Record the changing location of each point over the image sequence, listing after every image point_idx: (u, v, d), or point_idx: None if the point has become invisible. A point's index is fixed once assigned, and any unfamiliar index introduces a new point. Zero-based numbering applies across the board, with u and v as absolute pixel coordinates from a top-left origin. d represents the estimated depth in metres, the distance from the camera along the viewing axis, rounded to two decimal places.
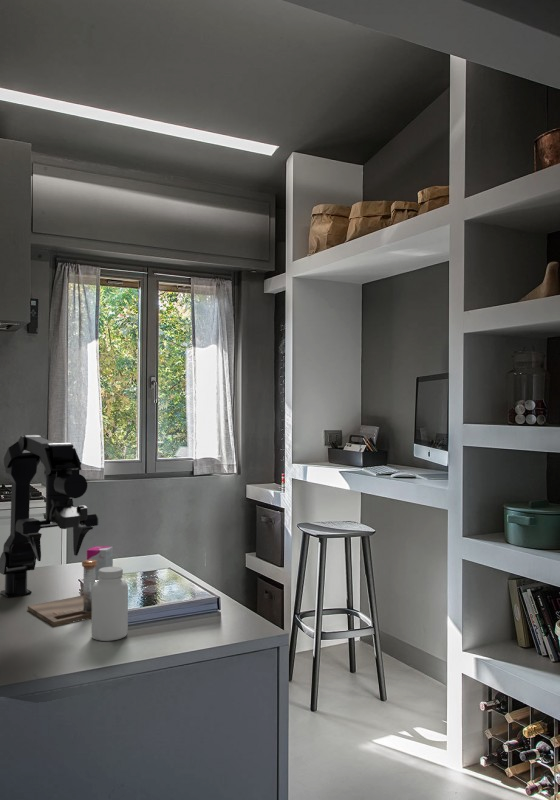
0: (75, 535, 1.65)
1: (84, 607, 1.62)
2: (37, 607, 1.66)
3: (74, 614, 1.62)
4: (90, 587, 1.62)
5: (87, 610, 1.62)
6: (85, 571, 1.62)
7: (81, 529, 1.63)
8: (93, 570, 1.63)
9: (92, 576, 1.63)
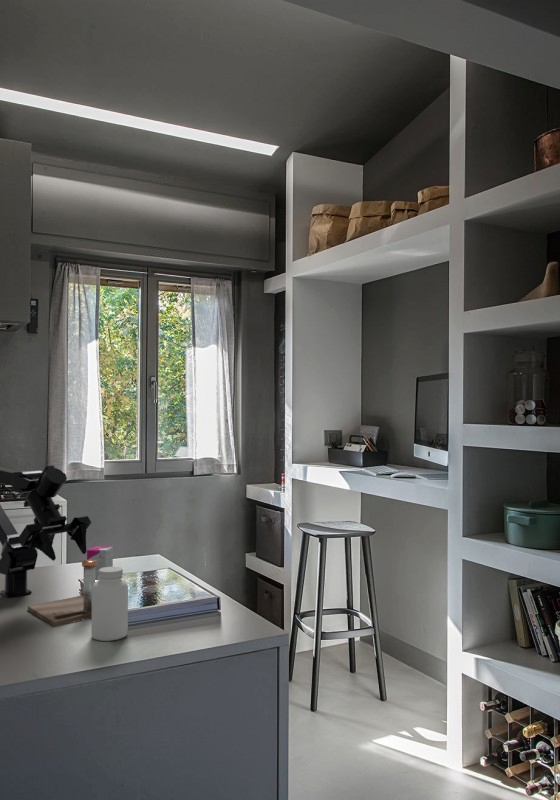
0: None
1: (84, 607, 1.62)
2: (37, 607, 1.66)
3: (74, 614, 1.62)
4: (90, 587, 1.62)
5: (87, 610, 1.62)
6: (85, 571, 1.62)
7: None
8: (93, 570, 1.63)
9: (92, 576, 1.63)
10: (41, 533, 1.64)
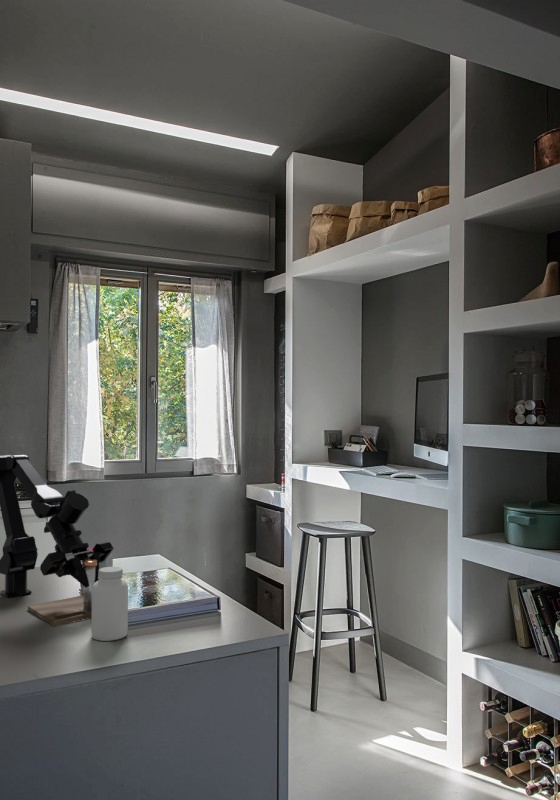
0: None
1: (84, 607, 1.62)
2: (37, 607, 1.66)
3: (74, 614, 1.62)
4: (90, 587, 1.62)
5: (87, 610, 1.62)
6: (85, 571, 1.62)
7: None
8: (93, 570, 1.63)
9: (92, 576, 1.63)
10: (74, 560, 1.61)
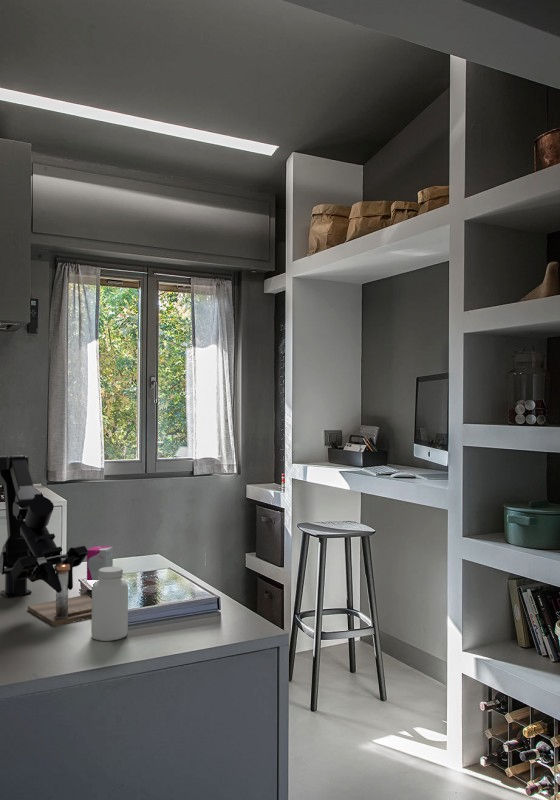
0: None
1: (56, 613, 1.58)
2: (37, 607, 1.66)
3: (74, 614, 1.62)
4: (63, 592, 1.58)
5: (59, 616, 1.57)
6: (57, 576, 1.58)
7: None
8: (66, 575, 1.58)
9: (65, 581, 1.58)
10: (46, 564, 1.57)
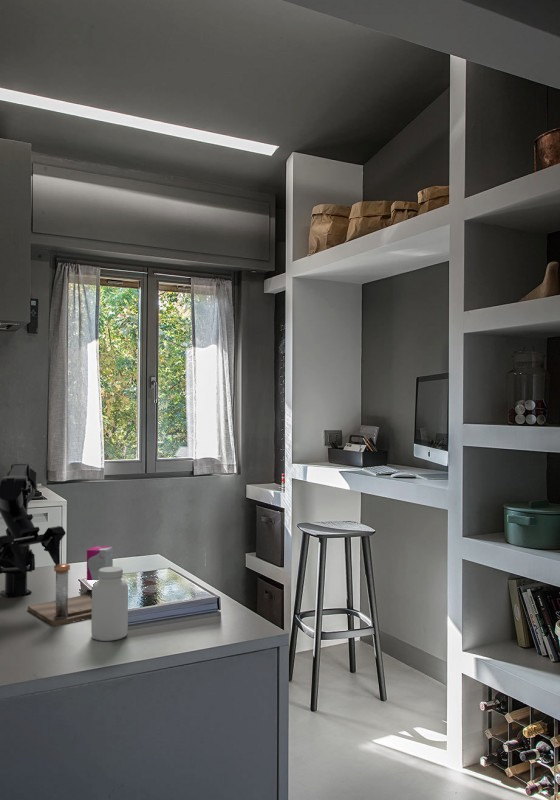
0: None
1: (56, 613, 1.58)
2: (37, 607, 1.66)
3: (74, 614, 1.62)
4: (63, 592, 1.58)
5: (59, 616, 1.57)
6: (57, 576, 1.58)
7: None
8: (66, 575, 1.58)
9: (64, 581, 1.58)
10: (12, 545, 1.60)
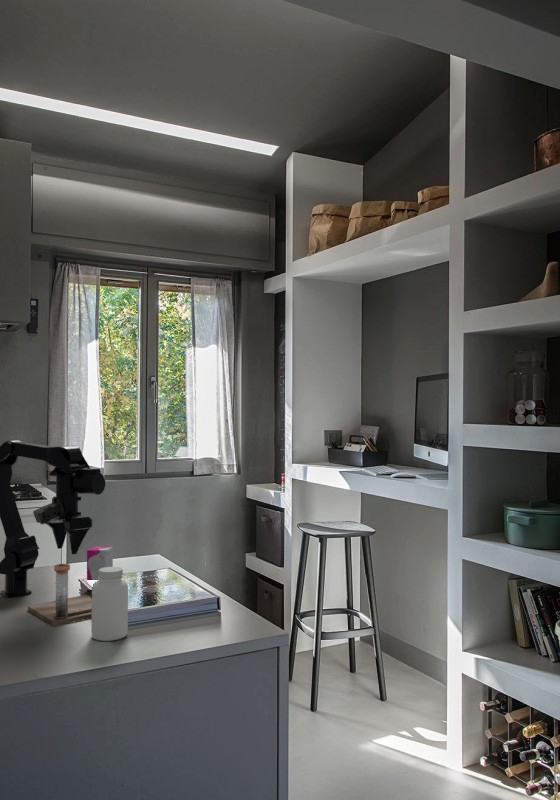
0: None
1: (56, 613, 1.58)
2: (37, 607, 1.66)
3: (74, 614, 1.62)
4: (63, 592, 1.58)
5: (59, 616, 1.57)
6: (57, 576, 1.58)
7: None
8: (66, 575, 1.58)
9: (64, 581, 1.58)
10: None
